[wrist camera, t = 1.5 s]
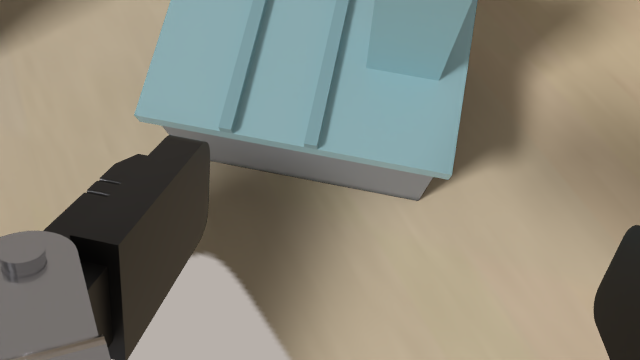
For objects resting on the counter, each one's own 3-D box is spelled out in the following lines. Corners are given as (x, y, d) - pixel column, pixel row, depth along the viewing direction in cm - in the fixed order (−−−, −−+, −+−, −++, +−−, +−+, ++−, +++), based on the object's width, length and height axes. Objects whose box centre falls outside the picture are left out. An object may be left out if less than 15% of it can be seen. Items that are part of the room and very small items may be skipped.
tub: (186, 156, 33) (152, 113, 27) (227, 12, 36) (205, -57, 30) (418, 200, 32) (439, 167, 26) (442, 49, 35) (466, -14, 28)
